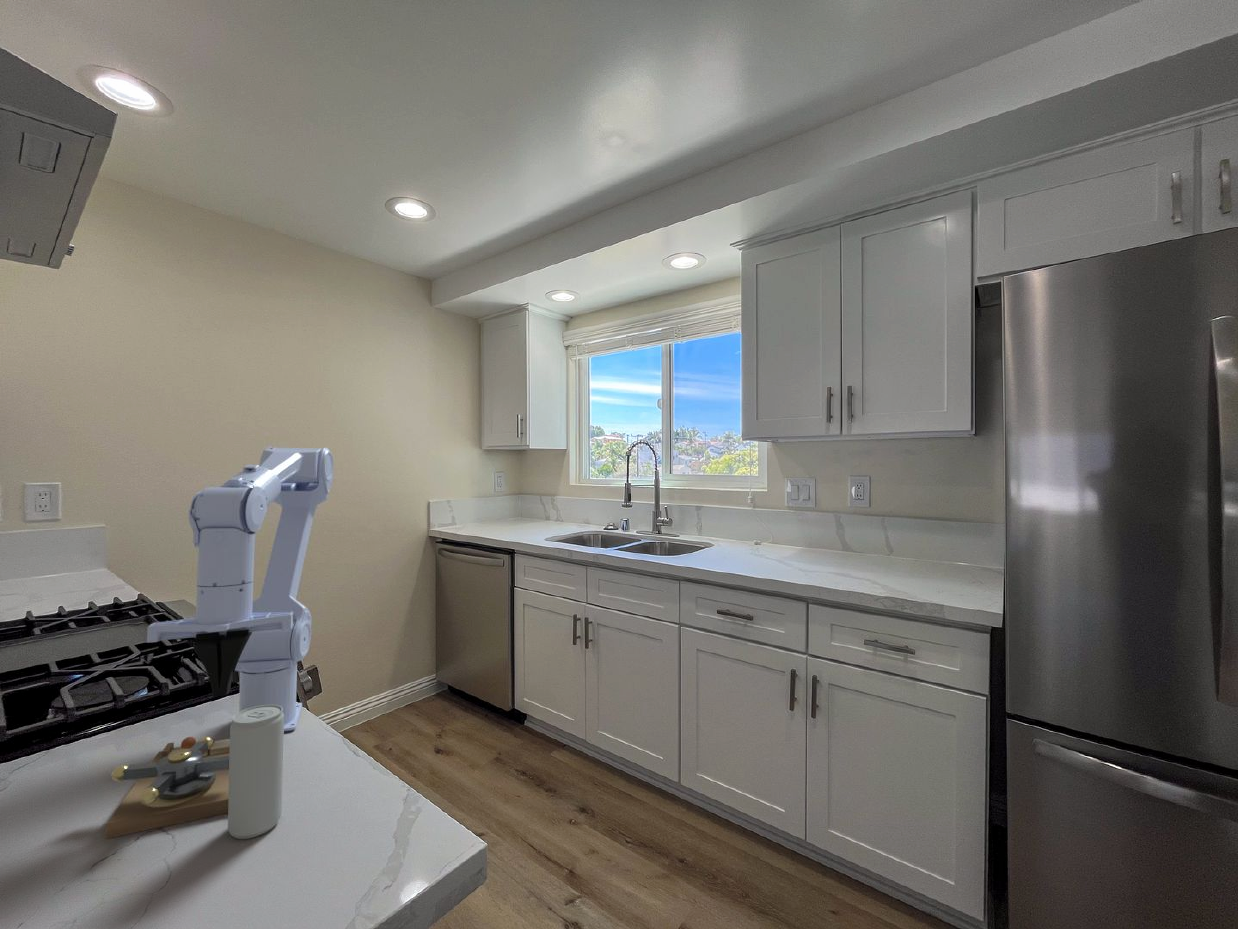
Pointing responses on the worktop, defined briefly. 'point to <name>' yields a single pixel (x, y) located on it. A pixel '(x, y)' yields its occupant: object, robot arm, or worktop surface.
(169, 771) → the capstan
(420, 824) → the worktop surface
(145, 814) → the valve wheel board
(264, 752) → the beverage can
